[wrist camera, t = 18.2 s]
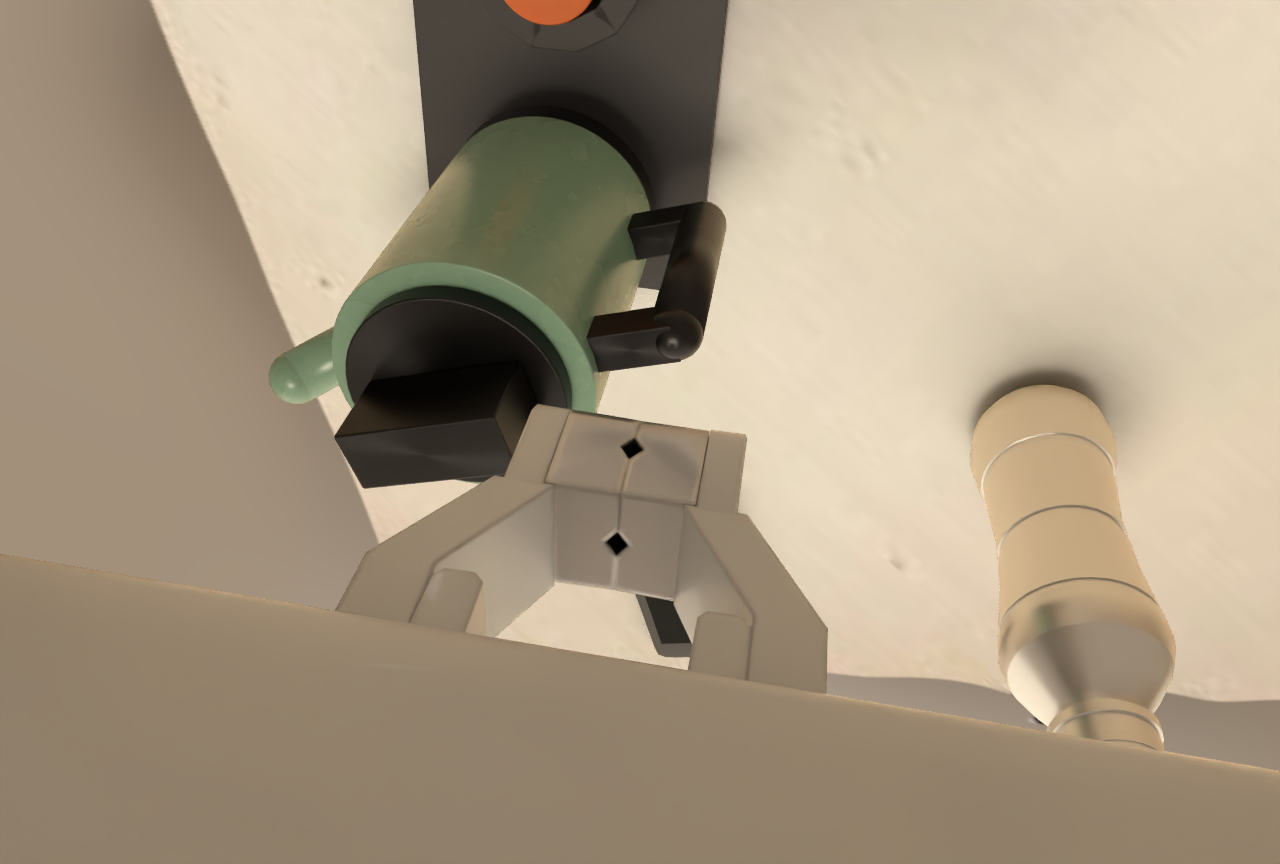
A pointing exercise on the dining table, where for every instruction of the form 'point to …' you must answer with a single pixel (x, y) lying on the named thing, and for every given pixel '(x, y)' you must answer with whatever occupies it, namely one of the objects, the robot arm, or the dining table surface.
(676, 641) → the cell phone
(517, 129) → the kettle
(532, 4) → the power button
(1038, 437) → the silver tall bottle
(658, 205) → the button base
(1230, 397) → the dining table surface
